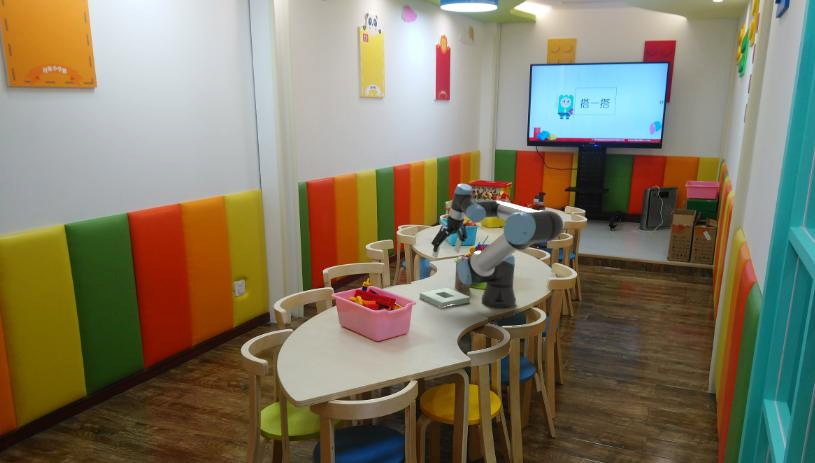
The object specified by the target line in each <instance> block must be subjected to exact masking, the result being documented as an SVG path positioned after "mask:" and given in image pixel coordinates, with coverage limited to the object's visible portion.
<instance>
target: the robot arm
mask: <svg viewBox="0 0 815 463" xmlns="http://www.w3.org/2000/svg"><path fill="white" fill-rule="evenodd" d="M473 189H474V188H473V187H472V186H471V185H469V184H466V183H459V184H457V185H456V188H455V191H454V192H453V196H452V201H451V205H450V209H449V212H448V215H447V218H446V226H443V225H440V228H439V231H438V232H437V234H436V235H435V237H434V239H433V240H432V241H431V245H432V246H433V249H432V257H433V258H434V259H438V257H439V253H440V249H441V245H442V243H444V241H446V240H447V238H448V237H450V236H451V235H455V234H456V235H457V239H456V241H455V245H454V248H453V250H454V252H456V253H457V254H459V253H460V250H461V246H462V245H463V243H464V242H466V240H467V239H468V233H467V223H465V222H464V221H465V218H466V217H467V219H469V221H471V222H473V223H475V224H478V223H480V222H483V221H484V220H485V219H486V218H498V219H500V220H504V223H505V224H503V232H502V234H501V235H499V236H498V237H497V238H495V239H494V240H493V241H492V242H491V243H490V244H488V246H486V247H485V248H484V249H482V250H477V251H475V252H473V253H472V254H471V255H470V256H462V257H463V258H460V259H459V261H458V260H457V261H458V264H457V272H458V276H459V279H460V281H461V282H462V283H463V284H470V286H471V285H475V284H482V283H486V286H485V288H484V291H483V294H481V304H483V305H484V306H487V307H491V308H494V309H495V308H497V309H508V308H509V309H510V308H513V307H515V306H516V304H517V299H516V296H515V295H516V294H515V291H514V279H515V276H514V275H515V266H516V263H515V261H516V258H515V256H514V255H513V254H514V253H516V252H517V251H524V250H526V249H528V248H529V247H530V246H532V245H533V244H536V243H548V242H552V241H555V240H557V238H560V236H561V235H562V233H563V230H564V220H563V219H562V217H561V216H560V215H559V214H558V213H557V212H555V211H552V210H547V209H542V210H537V209H533V208H531V207H530V208H529V207H526V206H522V205H518V204H515V203H511V202H510V201H509V200H508V199H503V198H502V199H501V198H500V199H491V200H490V199H489V200H477V199H476V198H474V196H473V192H474V190H473Z"/></svg>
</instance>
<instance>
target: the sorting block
mask: <svg viewBox="0 0 815 463" xmlns="http://www.w3.org/2000/svg"><path fill="white" fill-rule="evenodd" d="M421 298H422V299H421ZM419 299H421V300H423V299H424V300H423V301H425V300H426V301H425V302H427V301H429V302H431V303H433V304H432V305H434V304H435V305H434V306H436V305H437V307H438V306H440V307H444V306H447V305H450V304H457V305H456V306H458V305H459V306H460V305H463V304H468V303H471V301H470V299H471V297H470V296H468V295H466V294H463V293H461V292H459V291H457V290H453V289H452V288H449V287H445V288H439V289H434V290H433V289H432V290H428V291H423V292H419ZM429 302H428V303H429ZM431 303H430V304H431ZM440 307H439V308H440Z"/></svg>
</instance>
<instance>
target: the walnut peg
mask: <svg viewBox="0 0 815 463" xmlns="http://www.w3.org/2000/svg"><path fill="white" fill-rule="evenodd" d="M455 261H456V260H455ZM455 264H456V265H455V282H454V288H455V289H458V290H460V291H463V292H464V291H469V290H470V286H471V285H470V284H463V283H462V282H461V281H460V279H459V276H458V272H457V264H458V260H457V261H456V262H455Z"/></svg>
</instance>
